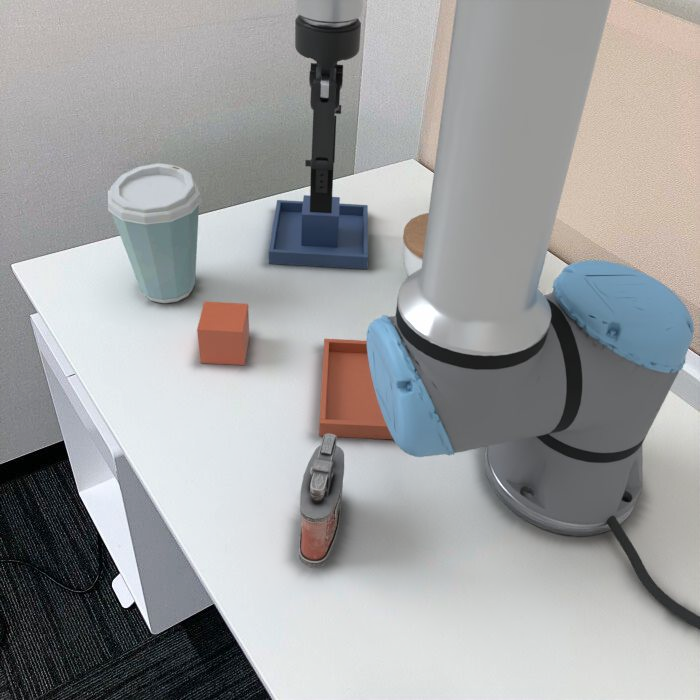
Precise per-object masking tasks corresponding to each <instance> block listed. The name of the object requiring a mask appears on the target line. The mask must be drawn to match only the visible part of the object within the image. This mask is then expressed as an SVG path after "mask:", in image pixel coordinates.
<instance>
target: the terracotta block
mask: <svg viewBox="0 0 700 700" xmlns="http://www.w3.org/2000/svg"><path fill="white" fill-rule="evenodd" d="M249 315H250V314H249V303H241V302H240V303H239V302H224V301H223V302H221V301H203V306H202V309H201V313H200V316H199V321H198V323H197V328H196V332H197V333H196V334H197V343H198V344H197V345H198V351H199V352H198V353H199V359H200V360H199V363H200V364H216V365H217V364H218V365H235V366H245V365H246V359H247V353H248V347H249V341H250V317H249Z"/></svg>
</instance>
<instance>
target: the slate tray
mask: <svg viewBox="0 0 700 700" xmlns="http://www.w3.org/2000/svg"><path fill="white" fill-rule="evenodd" d="M302 206H303V200H288V199H286V200H285V199H277V200H276V205H275V211H274V217H273V223H272V229H271V235H270V239H269V240H270V241H269V247H268V265H284V266H306V267H319V268H320V267H321V268H340V269H342V268H343V269H357V270H358V269H359V270H368V263H369V216H368V215H369V213H368V212H369V211H368V210H369V208H368V206H369V205H368V204H356V203H355V204H354V203H340V206H339V227H338V245H337V247H320V246H302V245H301V222H302Z"/></svg>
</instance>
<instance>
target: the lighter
mask: <svg viewBox="0 0 700 700" xmlns="http://www.w3.org/2000/svg"><path fill="white" fill-rule="evenodd" d="M337 438H338V437H336V436H335V435H333V434H325V435H324V436H322V440H321V443H320V445H318V446H317V447H316V448H315V450H314V452H313V454H312V455H311V456H310V459H309V461H308V463H307V465H306V468H305V470H304V473H303V477H302V483H301V487H300V498H299V499H300V500H299V501H300V502H299V513H300V516H301V526H300V532H299V540H298V542H299V543H298V559H299V560H300V562H301V563H302V564H303V565H304V566H306V567H309V568H320V567H322V566H324V565H326V563H327V562H328V560H329V558H330V556H331V553H332V551H333V550H334V547H335V544H336V540H337V537H338V535H339V530H340V529H339V528H340V522H341V505H342V504H341V502H342V496H343V486H344V482H343V481H344V476H345V452H344V449H342V448H341V447H340V446H338V445H337V440H338V439H337Z"/></svg>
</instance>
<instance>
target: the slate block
mask: <svg viewBox="0 0 700 700" xmlns="http://www.w3.org/2000/svg"><path fill="white" fill-rule="evenodd" d="M302 201H303V206H302V222H301V245H302V246H320V247H337V245H338V227H339V206H340V204H341V197H340V196H332V213H317V212H310V195H306V194H304V195H303V199H302Z"/></svg>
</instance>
